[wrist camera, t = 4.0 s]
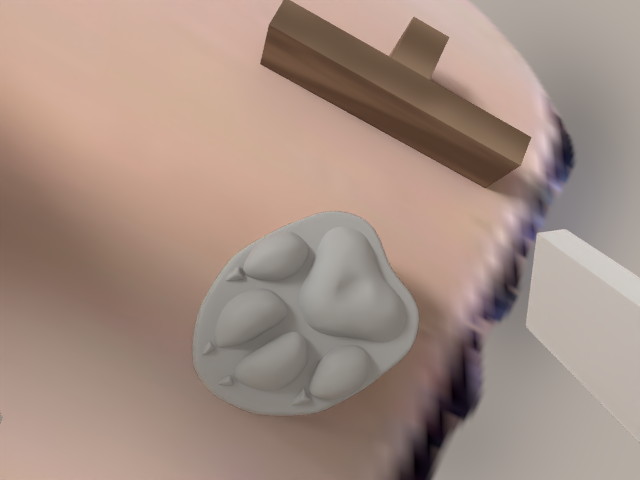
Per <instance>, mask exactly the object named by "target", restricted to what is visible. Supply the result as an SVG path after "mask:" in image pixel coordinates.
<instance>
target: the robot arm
mask: <svg viewBox="0 0 640 480" xmlns="http://www.w3.org/2000/svg"><path fill="white" fill-rule="evenodd" d="M526 327H527V328H528V329H529V330H530V331H531V332H532V334H533V335H534V336H536V337H537V339H538V340H539V341H540V342H541V343H542V344H543V345H544V346H545V347H546V348H547V349H548V350H549V351H550V352H551V353H552V354H553V355H554V356H555V357H556V358H557V359H558V360H559V361H560V362H561V363H562V364H563V365H564V366H565V367H566V368H567V369H568V370H569V371H570V372H571V373H572V374H573V375H574V376H575V377H576V378H577V379H578V380H579V382H580V383H581V384H583V386H584V387H585V388H586V389H587V390H588V391H589V392H590V393H591V394H592V395H593V396H594V397H595V398H596V399H597V400H598V401H599V402H600V403H601V404H602V405H603V406H604V407H605V408H606V409H607V410H608V411H609V412H610V413H611V414H612V415H613V416H614V417H615V418H616V419H617V420H618V421H619V422H620V423H621V424H622V425H623V426H624V427H625V429H626V430H627V431H629V433H630V434H631V435H632V436H633V437H634V438H635V439H636V440H637V441H638V442H639V443H640V277H638V276H636V275H635V274H633V273H632V272H630V271H629V270H627V269H626V268H624V267H623V266H621V265H620V264H618V263H617V262H615V261H613V260H612V259H610V258H609V257H607V256H606V255H604V254H603V253H601V252H600V251H598V250H596V249H595V248H593V247H592V246H590V245H589V244H587V243H586V242H584V241H583V240H581V239H580V238H578V237H576V236H575V235H574V234H572V233H570V232H569V231H567V230H566V229H563V230H555V231H549V232H542V233H537V238H536V246H535V255H534V263H533V271H532V279H531V287H530V295H529V304H528V311H527V321H526ZM1 420H2V416H1V413H0V422H1Z"/></svg>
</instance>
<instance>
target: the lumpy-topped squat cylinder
mask: <svg viewBox="0 0 640 480" xmlns="http://www.w3.org/2000/svg"><path fill="white" fill-rule="evenodd" d="M418 326H419V312H418V308H417V305H416V302H415V300H414V298H413V297H412V295H411V293H410V292H409V290H408V289H407V288H406V287H405V286H404V284H403V283H402V282H401V280H400V279H399V278H398V277H397V275H396V274H395V272H394V271H393V269H392V268H391V266H390V264H389V262H388V260H387V257H386V255H385V252H384V249H383V246H382V243H381V241H380V239H379V237H378V235H377V233H376V231H375V230H374V228H373V227H372V226H371V225H370V224H369V223H368V222H367V221H366V220H364V219H362V218H361V217H359V216H356V215H354V214H350V213H346V212H340V211H328V212H322V213H317V214H314V215H312V216H309V217H306V218H304V219H301V220H299V221H296V222H294V223H290V224H288V225H286V226H283V227H281V228H279V229H277V230H275V231H273V232H271V233H270V234H268V235H266V236H264V237H262V238H260V239H259V240H257V241H255V242H253V243H252V244H250V245H249V246H247V247H245V248H244V249H242V250H241V251H240V252H238V253H237V254H236V255H234V256H233V257H232V258H231V259H230V260H229V262H228V263H227V264H226V265H225V267H224V268H223V269H222V271H221V272H220V274H219V275H218V276H217V278H216V280H215V281H214V283H213V284H212V286H211V288H210V289H209V291H208V293H207V295H206V296H205V298H204V300H203V302H202V304H201V307H200V310H199V312H198V316H197V319H196V324H195V329H194V334H193V343H192V359H193V365H194V368H195V371H196V373H197V375H198V377H199V379H200V380H201V381H202V383H203V384H204V385H205V386H206V387H207V388H208V389H209V390H210V391H211V392H212V393H213V394H214V395H215V396H217V397H218V398H219V399H221V400H223V401H225V402H226V403H228V404H230V405H232V406H235V407H237V408H240V409H242V410H245V411H248V412H251V413H255V414H261V415H274V416H295V415H309V414H315V413H318V412H321V411H324V410H326V409H328V408H330V407H332V406H334V405H336V404H338V403H340V402H342V401H344V400H346V399H348V398H350V397H352V396H353V395H355V394H357V393H358V392H360V391H361V390H363V389H364V388H366V387H367V386H369V385H370V384H372V383H373V382H374V381H376V380H377V379H378V378H379V377H381V376H382V375H383V374H384V373H386V372H387V371H389V370H390V369H391V368H392V367H394V366H395V365H396V364H397V363H398V362H400V361H401V360H402V359H403V358H404V357H405V355H406V354H407V353H408V352H409V351H410V349H411V348H412V346H413V344H414V342H415V339H416V336H417V332H418Z"/></svg>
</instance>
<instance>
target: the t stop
mask: <svg viewBox="0 0 640 480" xmlns="http://www.w3.org/2000/svg"><path fill="white" fill-rule="evenodd" d="M448 39H449V37H448V36H446V35H444V34H443V33H441V32H439V31H438V30H436V29H434V28H432V27H431V26H429V25H427V24H425V23H424V22H422V21H420V20H419V19H417V18H415V17H413V19H412V20H411V22H410V23H409V25H408V27H407V28H406V30H405V31H404V33H403V35H402V36H401V38H400V39H399V41H398V43H397V44H396V46H395V47H394V49H393V51H392V52H391V54H390V56H387V55H385V54H384V53H382V52H380V51H378V50H377V49H375V48H373V47H371V46H370V45H368V44H366V43H364V42H362V41H361V40H359V39H357V38H355V37H354V36H352V35H350V34H348V33H347V32H345V31H343V30H341V29H340V28H338V27H336V26H334V25H332V24H331V23H329V22H327V21H325V20H324V19H322V18H320V17H318V16H317V15H315V14H313V13H311V12H310V11H308V10H306V9H304V8H303V7H301V6H299V5H297V4H295V3H294V2H292V1H290V0H284V1H283V2H282V4H281V6H280V7H279V9H278V11H277V12H276V14H275V16H274V17H273V19H272V21H271V22H270V24H269V27H268V32H267V36H266V41H265V45H264V50H263V54H262V59H261V63H260V64H262V65H264V66H265V67H267V68H269V69H271V70H273V71H274V72H276V73H278V74H280V75H282V76H284V77H285V78H287V79H289V80H291V81H293V82H294V83H296V84H298V85H300V86H302V87H303V88H305V89H307V90H309V91H311V92H312V93H314V94H316V95H318V96H320V97H322V98H323V99H325V100H327V101H329V102H331V103H332V104H334V105H336V106H338V107H340V108H341V109H343V110H345V111H347V112H349V113H351V114H352V115H354V116H356V117H358V118H360V119H361V120H363V121H365V122H367V123H369V124H370V125H372V126H374V127H376V128H378V129H380V130H381V131H383V132H385V133H387V134H389V135H390V136H392V137H394V138H396V139H398V140H399V141H401V142H403V143H405V144H407V145H409V146H410V147H412V148H414V149H416V150H418V151H419V152H421V153H423V154H425V155H427V156H428V157H430V158H432V159H434V160H436V161H437V162H439V163H441V164H443V165H445V166H447V167H448V168H450V169H452V170H454V171H456V172H457V173H459V174H461V175H463V176H465V177H466V178H468V179H470V180H472V181H474V182H476V183H477V184H479V185H481V186H483V187H485V188H486V187H487V186H489V185H490V184H492V183H494V182H495V181H497V180H498V179H500V178H502V177H503V176H505V175H506V174H508V173H510V172H511V171H513V170H514V169H516V168H518V167H519V166H521V163H522V161H523V158H524V155H525V153H526V150H527V147H528V145H529V142H530V139H531V137H530V136H528V135H526V134H525V133H523V132H521V131H519V130H518V129H516V128H514V127H512V126H511V125H509V124H507V123H505V122H503V121H502V120H500V119H498V118H496V117H495V116H493V115H491V114H489V113H488V112H486V111H484V110H482V109H481V108H479V107H477V106H475V105H474V104H472V103H470V102H468V101H466V100H465V99H463V98H461V97H459V96H458V95H456V94H454V93H452V92H451V91H449V90H447V89H445V88H444V87H442V86H440V85H438V84H437V83H435V82H433V81H431V80H430V78H431V76H432V73H433V71H434V69H435V67H436V65H437V63H438V61H439V58H440V56H441V54H442V52H443V50H444V48H445V45H446V43H447V41H448Z"/></svg>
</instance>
